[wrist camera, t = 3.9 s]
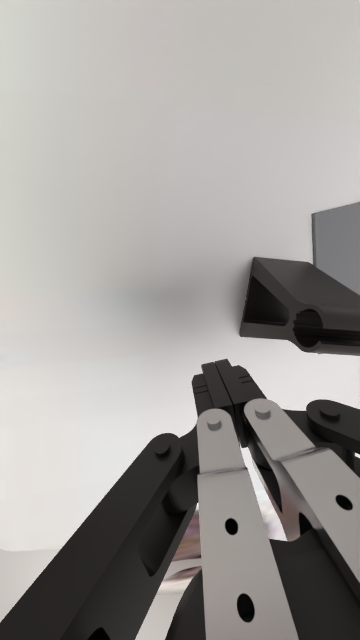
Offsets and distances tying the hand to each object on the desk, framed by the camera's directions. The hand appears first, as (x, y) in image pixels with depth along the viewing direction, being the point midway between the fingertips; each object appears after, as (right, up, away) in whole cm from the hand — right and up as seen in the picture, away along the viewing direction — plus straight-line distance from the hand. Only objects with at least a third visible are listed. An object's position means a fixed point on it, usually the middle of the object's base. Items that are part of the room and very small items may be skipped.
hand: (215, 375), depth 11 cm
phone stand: (+8, +5, +12) cm, 15 cm away
